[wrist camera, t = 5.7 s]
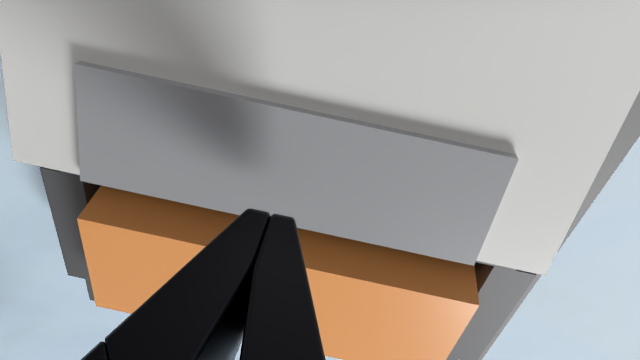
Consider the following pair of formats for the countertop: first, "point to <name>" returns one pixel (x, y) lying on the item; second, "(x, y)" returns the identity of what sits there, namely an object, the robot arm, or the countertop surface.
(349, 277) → the push button
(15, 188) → the countertop surface
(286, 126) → the rocker switch
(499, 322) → the panel
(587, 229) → the countertop surface
